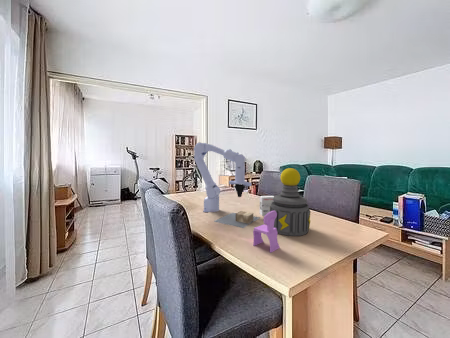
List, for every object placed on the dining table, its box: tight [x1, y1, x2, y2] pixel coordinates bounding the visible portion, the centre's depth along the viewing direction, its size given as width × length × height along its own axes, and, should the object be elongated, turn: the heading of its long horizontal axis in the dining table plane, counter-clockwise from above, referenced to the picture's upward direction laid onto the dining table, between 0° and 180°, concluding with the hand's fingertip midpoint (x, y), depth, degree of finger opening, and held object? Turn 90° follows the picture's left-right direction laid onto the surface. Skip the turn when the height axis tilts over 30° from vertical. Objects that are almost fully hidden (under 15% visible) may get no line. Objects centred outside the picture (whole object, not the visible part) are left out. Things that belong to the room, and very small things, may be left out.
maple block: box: [235, 210, 254, 223], centre depth 114 cm, size 4×6×8 cm
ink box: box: [259, 195, 275, 217], centre depth 125 cm, size 9×5×12 cm, turn 100°
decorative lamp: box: [270, 167, 311, 237], centre depth 103 cm, size 19×19×30 cm
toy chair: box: [252, 211, 280, 253], centre depth 85 cm, size 8×9×15 cm
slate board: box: [213, 212, 261, 229], centre depth 116 cm, size 18×20×1 cm
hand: (239, 196), depth 130 cm, fingers closed
